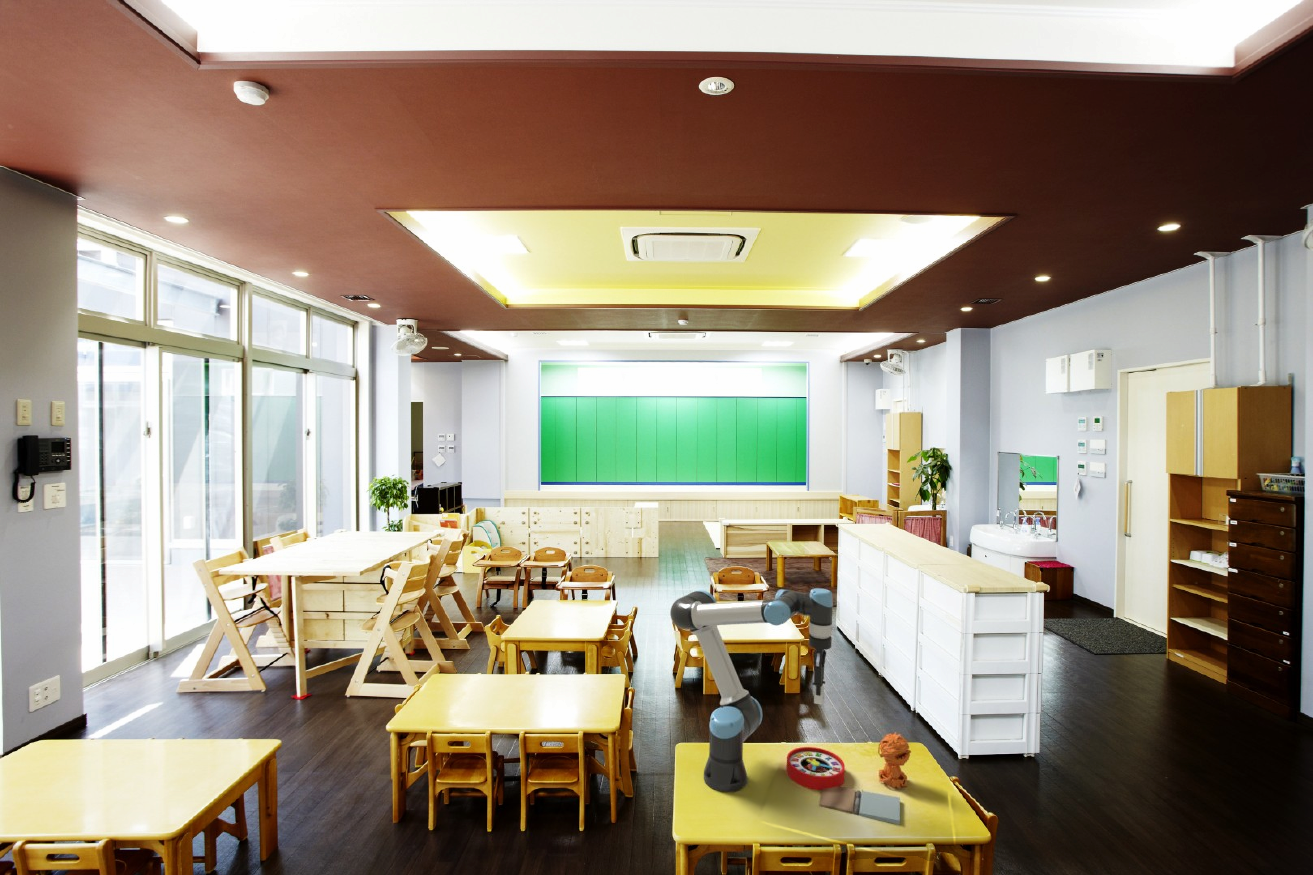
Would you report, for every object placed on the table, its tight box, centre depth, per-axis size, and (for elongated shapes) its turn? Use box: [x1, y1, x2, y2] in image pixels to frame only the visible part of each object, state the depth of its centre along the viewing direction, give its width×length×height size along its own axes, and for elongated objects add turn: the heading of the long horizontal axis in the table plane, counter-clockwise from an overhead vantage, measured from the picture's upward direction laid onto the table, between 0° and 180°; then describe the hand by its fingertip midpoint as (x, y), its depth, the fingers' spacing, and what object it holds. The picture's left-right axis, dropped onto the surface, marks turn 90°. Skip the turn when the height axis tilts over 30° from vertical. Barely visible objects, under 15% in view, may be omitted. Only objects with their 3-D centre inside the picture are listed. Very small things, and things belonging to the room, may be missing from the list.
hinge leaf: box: [854, 790, 901, 826], centre depth 203 cm, size 14×13×2 cm
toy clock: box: [786, 746, 846, 791], centre depth 222 cm, size 20×6×20 cm
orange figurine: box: [877, 731, 912, 790], centre depth 218 cm, size 11×11×18 cm
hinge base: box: [818, 785, 862, 816], centre depth 207 cm, size 12×13×2 cm
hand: (818, 703), depth 214 cm, fingers closed
